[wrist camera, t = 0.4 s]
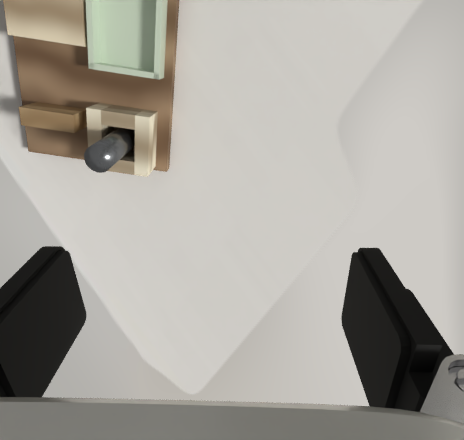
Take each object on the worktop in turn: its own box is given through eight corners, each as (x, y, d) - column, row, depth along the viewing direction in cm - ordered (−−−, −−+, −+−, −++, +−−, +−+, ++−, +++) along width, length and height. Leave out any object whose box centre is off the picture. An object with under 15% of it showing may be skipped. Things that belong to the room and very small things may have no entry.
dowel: (117, 122, 42) (83, 143, 33) (140, 126, 42) (112, 147, 33) (117, 145, 43) (84, 170, 35) (139, 148, 44) (112, 174, 35)
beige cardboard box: (12, -42, 35) (-4, -48, 33) (90, -29, 35) (80, -34, 33) (21, 35, 38) (7, 34, 36) (93, 46, 38) (84, 46, 36)
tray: (94, -29, 35) (83, -35, 33) (168, -17, 36) (163, -22, 33) (97, 67, 39) (88, 68, 37) (163, 77, 40) (159, 79, 37)
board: (9, -58, 36) (-28, -74, 31) (180, -29, 36) (170, -41, 31) (34, 148, 46) (9, 160, 41) (169, 168, 46) (159, 182, 41)
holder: (99, 102, 41) (86, 107, 38) (157, 111, 41) (149, 117, 38) (101, 158, 44) (89, 168, 41) (155, 166, 45) (147, 176, 41)
